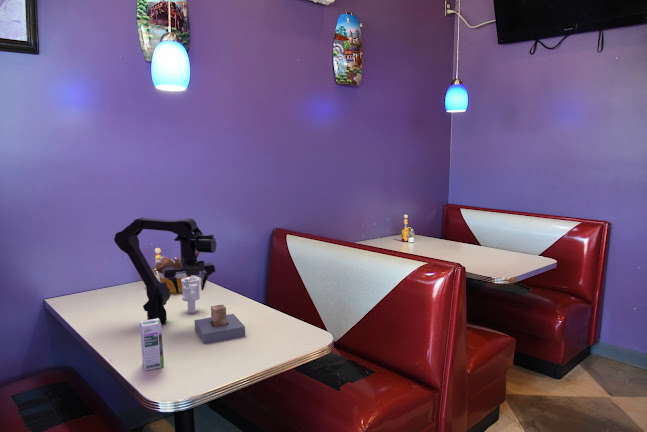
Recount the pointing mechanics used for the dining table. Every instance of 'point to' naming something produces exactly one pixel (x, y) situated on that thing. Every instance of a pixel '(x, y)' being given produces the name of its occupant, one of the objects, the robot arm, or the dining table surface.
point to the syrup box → (151, 344)
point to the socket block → (219, 329)
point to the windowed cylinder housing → (190, 292)
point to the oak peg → (218, 315)
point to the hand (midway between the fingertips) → (190, 292)
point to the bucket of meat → (167, 262)
